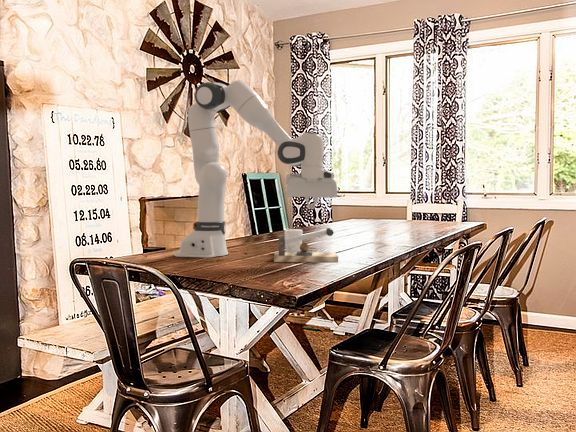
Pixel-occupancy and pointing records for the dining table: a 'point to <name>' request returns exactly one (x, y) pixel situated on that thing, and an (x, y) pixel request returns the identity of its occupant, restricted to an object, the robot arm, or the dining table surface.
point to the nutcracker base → (302, 254)
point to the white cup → (294, 245)
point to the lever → (310, 236)
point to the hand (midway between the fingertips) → (311, 208)
